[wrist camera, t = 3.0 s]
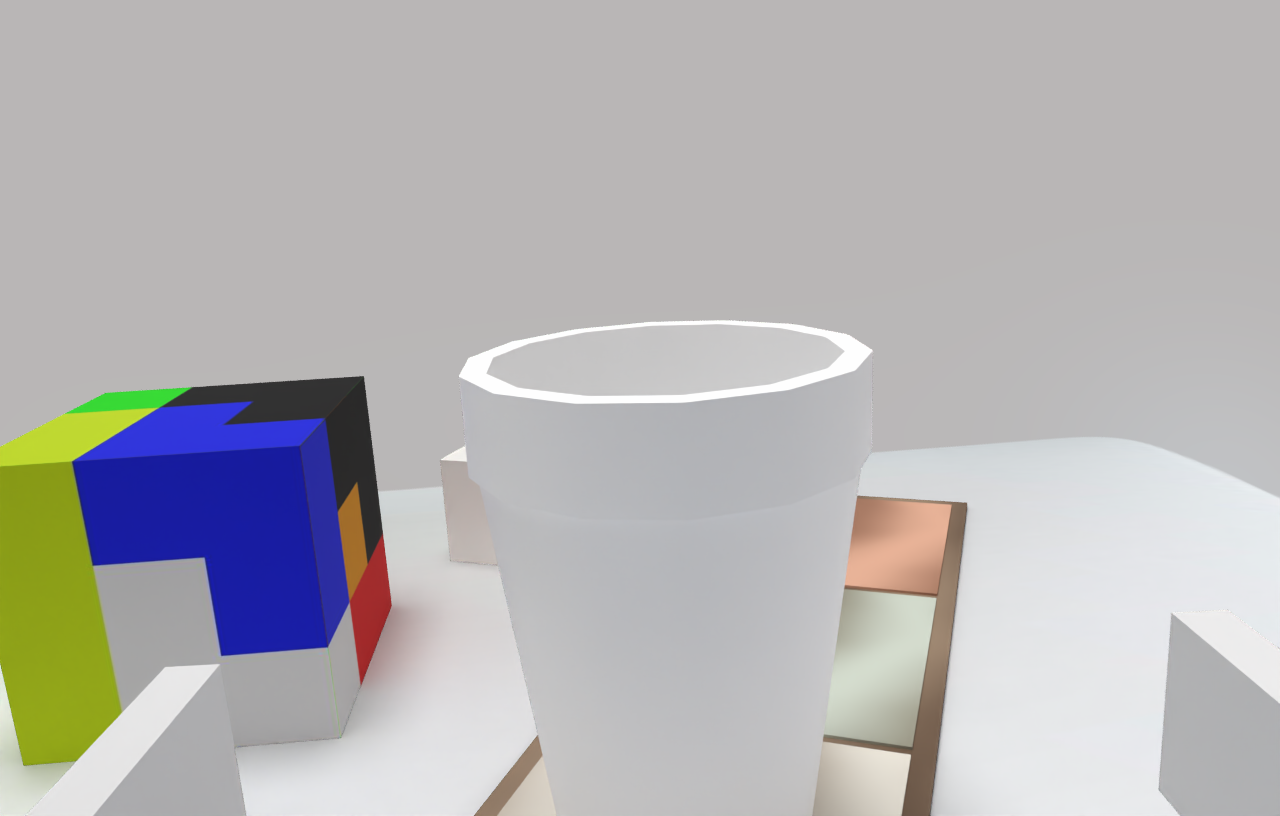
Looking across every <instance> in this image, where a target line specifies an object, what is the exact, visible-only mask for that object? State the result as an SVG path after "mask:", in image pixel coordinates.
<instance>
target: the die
mask: <svg viewBox="0 0 1280 816" xmlns="http://www.w3.org/2000/svg"><path fill="white" fill-rule="evenodd" d="M440 465H441V475H442V485H443V495H444V504H445V514H446V524H447V533H448V543H449V553H450V561H457V562H467V563H477V564H487V565H497V566H498V562H497V558H496V554H495V550H494V545H493V541H492V537H491V532H490V528H489V524H488V520H487V515H486V511H485V507H484V503H483V498H482V494H481V490H480V485H478V484H477V483H475V482H474V481H473V480H471V479H470V478H469V476H468V466H467V456H466V446H464V447H462V448H460V449H458V450H457V451H455V452H453V453H451V454H450V455H448V456H446V457H444V458H442V459H441V460H440Z"/></svg>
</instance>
